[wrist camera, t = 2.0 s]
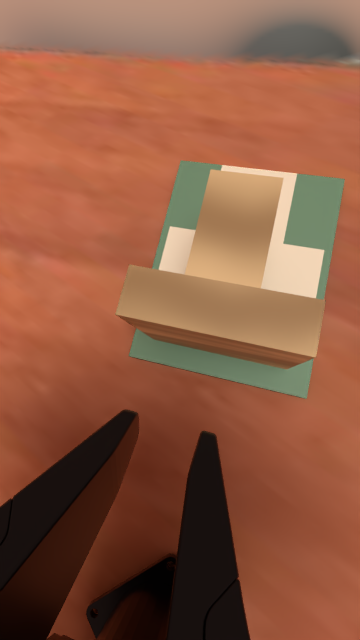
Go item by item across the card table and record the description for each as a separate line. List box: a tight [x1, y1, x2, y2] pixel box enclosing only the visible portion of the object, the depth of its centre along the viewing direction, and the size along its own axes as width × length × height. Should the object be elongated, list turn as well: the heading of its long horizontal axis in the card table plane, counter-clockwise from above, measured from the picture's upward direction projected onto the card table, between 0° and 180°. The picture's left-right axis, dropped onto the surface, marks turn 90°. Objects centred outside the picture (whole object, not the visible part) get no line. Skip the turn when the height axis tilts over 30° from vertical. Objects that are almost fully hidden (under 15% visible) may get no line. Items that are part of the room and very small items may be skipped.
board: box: [129, 161, 345, 399], centre depth 24 cm, size 16×12×1 cm
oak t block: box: [116, 169, 326, 370], centre depth 19 cm, size 8×9×8 cm
